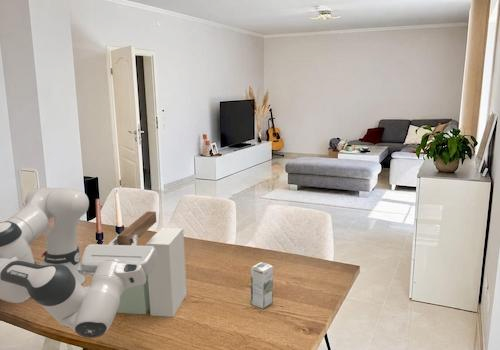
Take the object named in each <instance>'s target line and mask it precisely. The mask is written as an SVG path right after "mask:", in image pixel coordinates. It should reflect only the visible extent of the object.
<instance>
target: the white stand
mask: <svg viewBox="0 0 500 350" xmlns="http://www.w3.org/2000/svg"><path fill="white" fill-rule="evenodd" d="M184 235H185V234H184V228H179V227H161V228H160V229H159V230H158V231H157V232H156V233H155V234H154V235H153V236H152V237H150V239H149V240H148V241H147V242H146V243H145V246H154V248H155V249H156V252H157V259H156V262H155V264H154V266H153V269H152V271H151V272H150V273H149V274H148V285H149V299H150V309H149V312H150V313H149V314H150V316H151V317H152V316H155V317H165V318H167V317H168V318H169V317H171V318H174V316H175V315H176V313H177V312H178V310H179V308H180V306H181V305H182V303H183V301H184V299H185V298H186V296H187V295H188V294H187V291H188V290H187V275H186V274H187V273H186V260H185V259H186V256H185V255H186V254H185V240H184V239H185V238H184Z"/></svg>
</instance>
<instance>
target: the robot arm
mask: <svg viewBox="0 0 500 350" xmlns="http://www.w3.org/2000/svg"><path fill="white" fill-rule="evenodd" d="M24 200H25V201H24V205H25V206H23V208H21V209H20V210H18V211H17V212H16V213H15V214H14V215H12V216H10V217H9V218H8V219H6V220H4V221H0V300H2V301H4V302H7V303H13V304H20V303H23V302H25V301H27V300H29V299H30V298H31V299H33V301H35V302H36V303H37V304H38V305H40V306H41V307H42V308H43V309H44V310H45V311H46V312H47V313H48V314H49V315H50V316H51V317H52V318H53V319H55V321H57V322H58V324H59V325H61V326H63V327H65V328H70V329H73V330H74V331H75V333H76V334H77V335H78V336H81V337H83V338H89V339H90V338H91V339H95V338H98V337H99V338H100V337H102V336H104V334H105V333H106V332H107V331H108V330H109V329H110V327H111V325H112V323H113V321H114V320H115V317H116V315H117V310H118V307H119V304H120V297H121V295H122V294H123V293H124V290H125V289H128V288H131V287H135V286H139V285H143V284H145V283H146V275H148V274H149V273H150V272H151V271H152V269H153V266H154V264H155V262H156V259H157V252H156V249H155V248H154V246H146V245H138V240H139V238H138V236H137V235H131V238H130V239H131V242H132V245H118V240H117V236H118V235H119V234H120V233H119V234H116V236H115V238H113V239H112V240H111V241H109V243H108V244H96V243H95V244H94V243H90V244H88V245H87V246H86V247H85V249H84V252H83V254H82V258H81V255H80V254H81V253H80V247H79V246H78V237H77V228H78V224H79V221H80V219H81V218H82V217H83V216H84V215H85V214H86V213H87V212H88V210H89V207H90V200H89V197H88V195H87V194H86V193H85V192H83V191H80V190H77V189H72V188H61V187H60V188H58V187H57V188H56V187H40V188H33V189H31V190H29V191H28V192H27V194H26V196H25V199H24ZM50 218H51V219H52V218H53V219H54V220H53V224H52V226H50V227H49V226H48V225H49V219H50ZM48 227H49V228H48ZM44 233H45V235H44V237H45V243H46V244H45V245H46V251H44V252H43V253H41V258H43V260H42V261H40V263H38V264H37V262H36V261H35V258H34V255H33V252H32V251H33V250H32V249H31V246H30V244H31V243H32V242H33V241H35V240H37V238H38V237H40V236H41V235H43V234H44ZM85 276H92V278H91V281H90V284H89V285H87V286H83V285H82V284H84V283H85V281H86V277H85Z"/></svg>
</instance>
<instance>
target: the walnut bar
mask: <svg viewBox="0 0 500 350" xmlns="http://www.w3.org/2000/svg"><path fill="white" fill-rule="evenodd" d="M156 223H157V212H156V211H146V212H144V213H143V214H142V215H141V216H140V217H139V218H137V219H136V220H134V222H132V223H131V224H130V225H129V226H128V227H126V228H125V229H124V230H122V231H121V232H120V233H119V235H118V236H117V240H118V244H117V245H132V242H131V239H130V238H131V235H137V236H138V239H139V238H141V237H142V236H143V235H144V234H145V233H146V232H147V231H148V230H149V229H151V227H152V226H153V225H155V224H156Z"/></svg>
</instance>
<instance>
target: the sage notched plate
mask: <svg viewBox="0 0 500 350" xmlns="http://www.w3.org/2000/svg"><path fill="white" fill-rule="evenodd" d="M149 311H150V299H149V285H148V275H146V283H145V284H143V285H139V286H135V287H131V288H128V289H125V290H124V293H123V294H122V295H121V297H120V304H119V307H118V310H117V313H118V314H132V315H147V313H148V312H149ZM117 313H116V314H117Z"/></svg>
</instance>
